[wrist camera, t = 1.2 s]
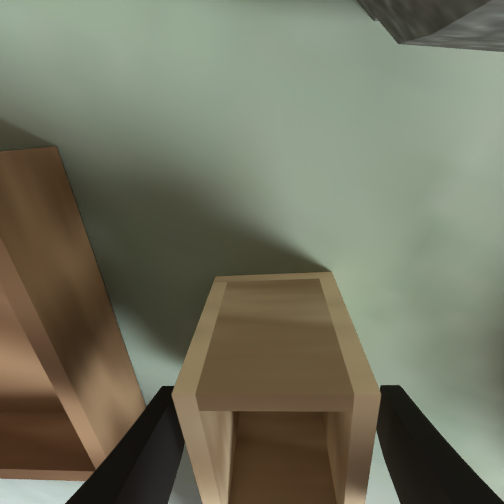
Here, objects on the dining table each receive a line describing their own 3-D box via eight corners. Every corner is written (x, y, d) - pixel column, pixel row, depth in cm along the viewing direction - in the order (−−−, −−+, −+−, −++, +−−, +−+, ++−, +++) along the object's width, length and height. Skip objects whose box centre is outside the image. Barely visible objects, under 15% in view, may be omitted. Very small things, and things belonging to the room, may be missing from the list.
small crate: (327, 388, 15) (359, 542, 9) (233, 388, 15) (211, 535, 10) (331, 270, 12) (381, 394, 6) (215, 275, 12) (171, 394, 7)
